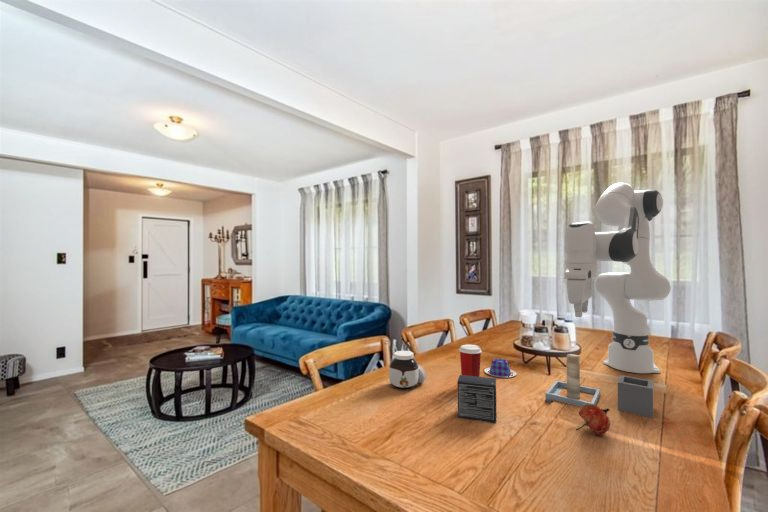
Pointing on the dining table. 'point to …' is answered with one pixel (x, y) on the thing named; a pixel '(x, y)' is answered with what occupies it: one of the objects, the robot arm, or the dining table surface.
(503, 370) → the pudding
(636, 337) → the robot arm
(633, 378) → the grey open-top box
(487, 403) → the small box
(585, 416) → the pomegranate
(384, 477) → the dining table surface
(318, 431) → the dining table surface
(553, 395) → the slate tray
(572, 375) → the maple dowel
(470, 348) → the paper cup
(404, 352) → the spread jar
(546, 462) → the dining table surface
